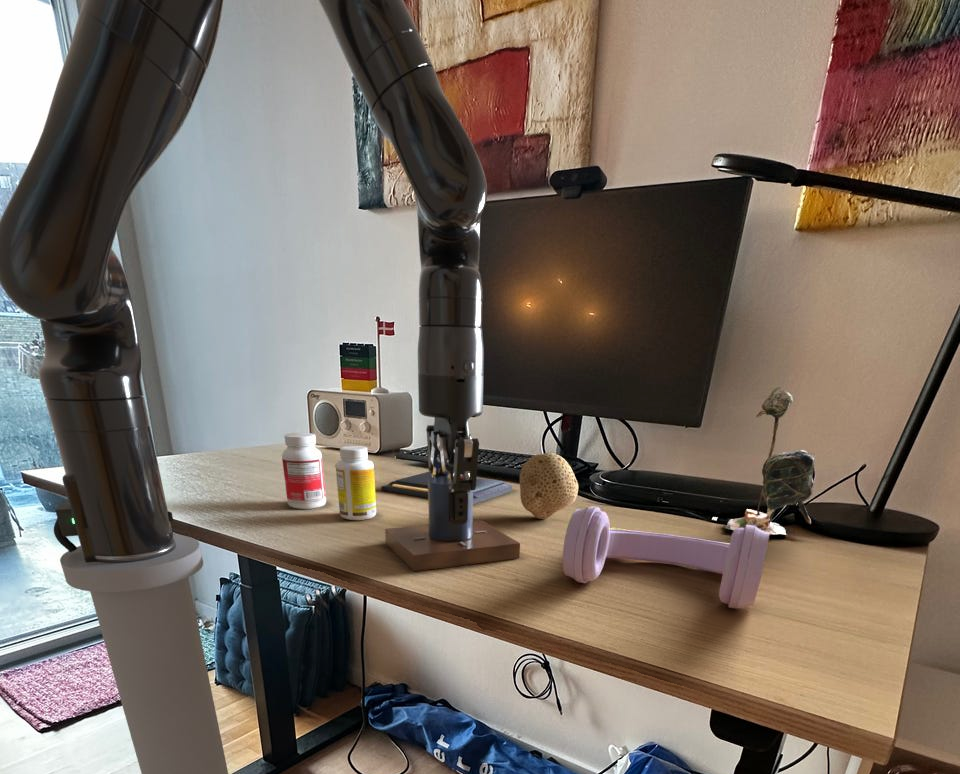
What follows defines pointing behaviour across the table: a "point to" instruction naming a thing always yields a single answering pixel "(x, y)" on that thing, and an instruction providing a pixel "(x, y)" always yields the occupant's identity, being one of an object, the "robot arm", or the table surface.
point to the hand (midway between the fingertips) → (450, 516)
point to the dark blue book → (484, 487)
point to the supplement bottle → (355, 484)
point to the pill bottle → (303, 472)
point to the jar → (446, 513)
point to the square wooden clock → (450, 547)
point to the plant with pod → (780, 475)
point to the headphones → (666, 553)
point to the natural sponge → (547, 485)
